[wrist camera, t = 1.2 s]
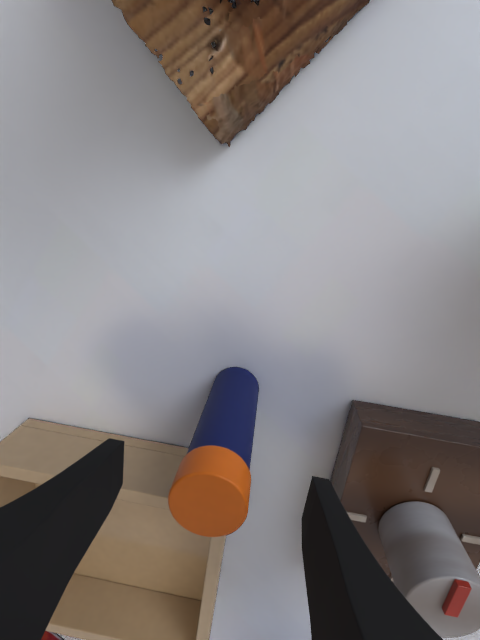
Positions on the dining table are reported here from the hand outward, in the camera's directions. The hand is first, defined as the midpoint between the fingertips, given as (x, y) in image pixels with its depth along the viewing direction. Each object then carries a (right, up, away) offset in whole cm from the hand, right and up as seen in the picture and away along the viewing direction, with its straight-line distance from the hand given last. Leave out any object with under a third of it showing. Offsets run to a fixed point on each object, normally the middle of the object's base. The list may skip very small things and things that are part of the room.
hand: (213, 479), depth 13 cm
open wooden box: (-7, -7, +11) cm, 15 cm away
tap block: (+10, -4, +8) cm, 14 cm away
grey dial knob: (+10, -5, +5) cm, 13 cm away
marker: (+1, +2, +7) cm, 7 cm away
